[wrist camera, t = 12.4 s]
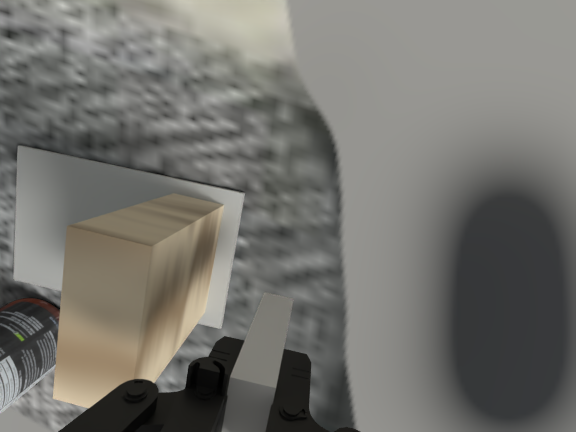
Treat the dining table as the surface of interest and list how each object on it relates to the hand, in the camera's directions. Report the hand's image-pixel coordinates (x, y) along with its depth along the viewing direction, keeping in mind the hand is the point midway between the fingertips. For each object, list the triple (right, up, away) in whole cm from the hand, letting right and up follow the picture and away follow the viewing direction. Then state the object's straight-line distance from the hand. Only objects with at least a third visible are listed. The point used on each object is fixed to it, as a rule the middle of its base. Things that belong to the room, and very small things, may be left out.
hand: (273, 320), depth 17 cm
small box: (-6, +3, +7) cm, 9 cm away
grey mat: (-11, +4, +7) cm, 14 cm away
